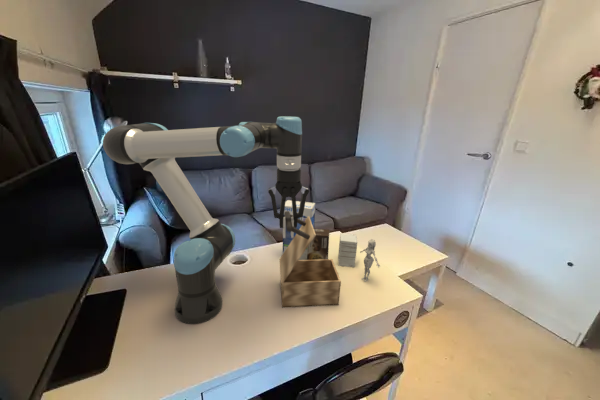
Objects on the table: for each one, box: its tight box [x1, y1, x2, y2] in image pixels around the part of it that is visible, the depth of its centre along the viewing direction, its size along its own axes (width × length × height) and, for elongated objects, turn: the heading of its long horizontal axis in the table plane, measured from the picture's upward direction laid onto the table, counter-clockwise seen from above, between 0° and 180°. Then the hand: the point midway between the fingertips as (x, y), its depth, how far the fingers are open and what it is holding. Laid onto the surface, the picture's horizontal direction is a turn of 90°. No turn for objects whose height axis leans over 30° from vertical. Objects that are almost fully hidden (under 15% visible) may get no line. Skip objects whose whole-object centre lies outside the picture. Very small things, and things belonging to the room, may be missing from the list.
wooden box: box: [279, 258, 342, 309], centre depth 101 cm, size 20×14×10 cm
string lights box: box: [282, 199, 316, 260], centre depth 122 cm, size 13×8×26 cm, turn 75°
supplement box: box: [337, 232, 358, 268], centre depth 121 cm, size 7×7×13 cm
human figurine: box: [359, 238, 381, 283], centre depth 109 cm, size 12×4×18 cm, turn 23°
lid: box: [279, 211, 316, 284], centre depth 94 cm, size 21×14×9 cm
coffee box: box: [307, 228, 330, 260], centre depth 118 cm, size 9×6×16 cm
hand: (288, 235), depth 94 cm, fingers closed on lid, 2 cm apart
